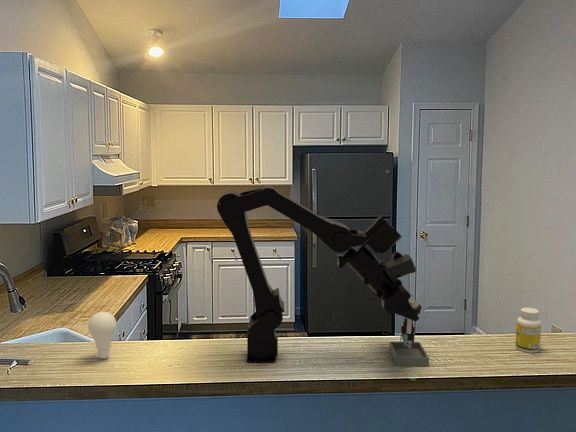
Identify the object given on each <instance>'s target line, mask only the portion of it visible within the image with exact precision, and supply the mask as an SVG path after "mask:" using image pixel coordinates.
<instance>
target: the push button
mask: <svg viewBox="0 0 576 432" xmlns="http://www.w3.org/2000/svg"><path fill="white" fill-rule="evenodd" d="M409 303H410V305H411V306H412V308H413V309H414V311H415V312H416V314H417V315H418V316H419V315H420V314H421V310H422V305H421V304H419V301H417V300H416V299H413V298H409ZM403 320H404V321H403V325H402V326H400V332H401V333H400V338H399V340H400V341H399V342H403V343H404V346H408V348H412V342H413V343H414V342H415V330H416V329H415V327H414V324H413V323H414V321H413V320H411V319H408V318H406V317H404V319H403Z"/></svg>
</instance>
